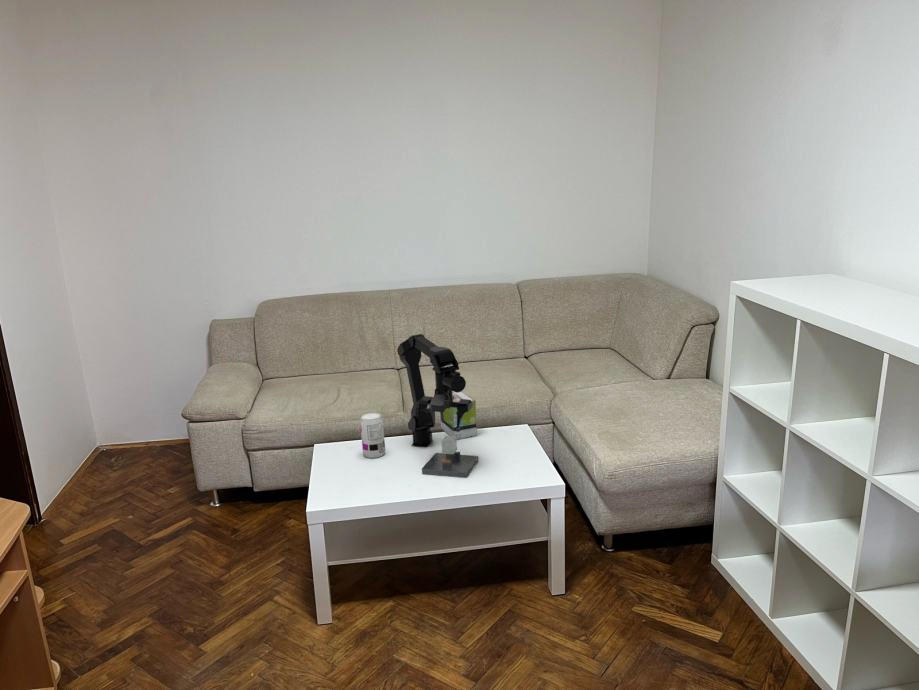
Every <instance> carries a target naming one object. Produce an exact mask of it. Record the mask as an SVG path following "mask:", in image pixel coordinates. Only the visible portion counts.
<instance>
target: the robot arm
mask: <svg viewBox="0 0 919 690" xmlns="http://www.w3.org/2000/svg"><path fill="white" fill-rule="evenodd" d="M422 354H424V355H425V356H427V357H428V358H429V363H430V364H431V365H432V371H434V376H435V377H434V379H435V388H434V394H433V396H426V394H425V390H424V389H425V388H424V384H423V379H422V375H421V374H422V373H421V369H420V363H421V360H422ZM397 355H398V356H399V360H400V362H401V363H402V364H403V365H404V367H405V368H406V373H407V378H408V383H409V388H410V393H411V399H412V403H413V404H412V408H411V411H410V419H409V420H408V422H407V427H408V430H409V431H411V432H412V444H411V446H412V447H422V448H423V447H424V448H428V447H429V446H430V445H431V444H432V443H433V442H434V439H433V431H431V428H435V426H436V412H438V413H440V412H441V413H442V412H444V411H445V409H447V408H450V407H457V410H458V411H457V412H456V414H457V428H459V427H460V424H461V421H462V418H463V415H464V414H465V413H466V412H468V411H469V410H470V409H471V408H472V407H473V404H472V401H471V400H469V399H461V400H460V401H459V402H453V400H454V397H453V393H452V392H456V393H458V392H461V391H464V389H465V388H466V386H467V385H466V384H467V382H466V379H465V378H464V377H463V376H462V375H461V372H459V371H457V370H460V367H459V362H458V360H457V358H456V355H455V353H454V352H453V351H452V350H451V349H450V348H448V347H445V346H439V345H437V344H435V343H434V342H432V341H431V340H429V339H428V338H426V337H425V335H424V334H421V333H418V334H413V335H410V336H409V337H408V338H407V339H405V340H404V341H402V342H401V343H400V344H399V345H398V347H397Z"/></svg>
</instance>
